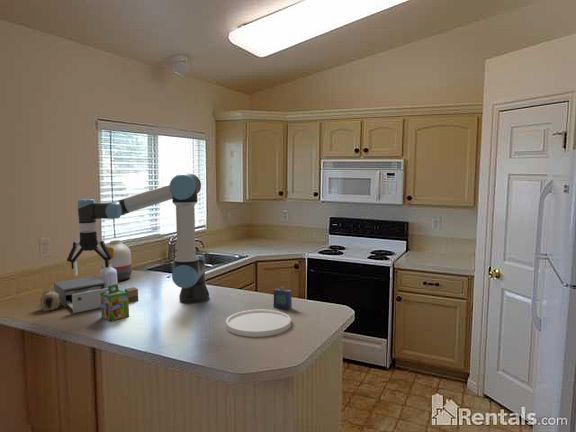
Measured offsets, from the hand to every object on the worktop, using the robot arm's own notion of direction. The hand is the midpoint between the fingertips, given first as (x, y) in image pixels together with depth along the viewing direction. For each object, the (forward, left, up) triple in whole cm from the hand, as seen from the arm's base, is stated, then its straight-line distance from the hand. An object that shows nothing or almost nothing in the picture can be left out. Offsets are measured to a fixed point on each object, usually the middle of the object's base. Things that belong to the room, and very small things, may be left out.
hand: (90, 274), depth 213 cm
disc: (+4, 0, -11) cm, 12 cm away
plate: (-73, -46, -17) cm, 88 cm away
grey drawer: (+5, 0, -16) cm, 17 cm away
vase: (+49, -30, -17) cm, 59 cm away
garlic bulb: (+11, +16, -17) cm, 25 cm away
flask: (-63, -68, -17) cm, 94 cm away
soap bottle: (+29, -18, -17) cm, 38 cm away
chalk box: (-22, -3, -17) cm, 28 cm away
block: (-1, -19, -16) cm, 25 cm away
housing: (+19, 0, -16) cm, 25 cm away
